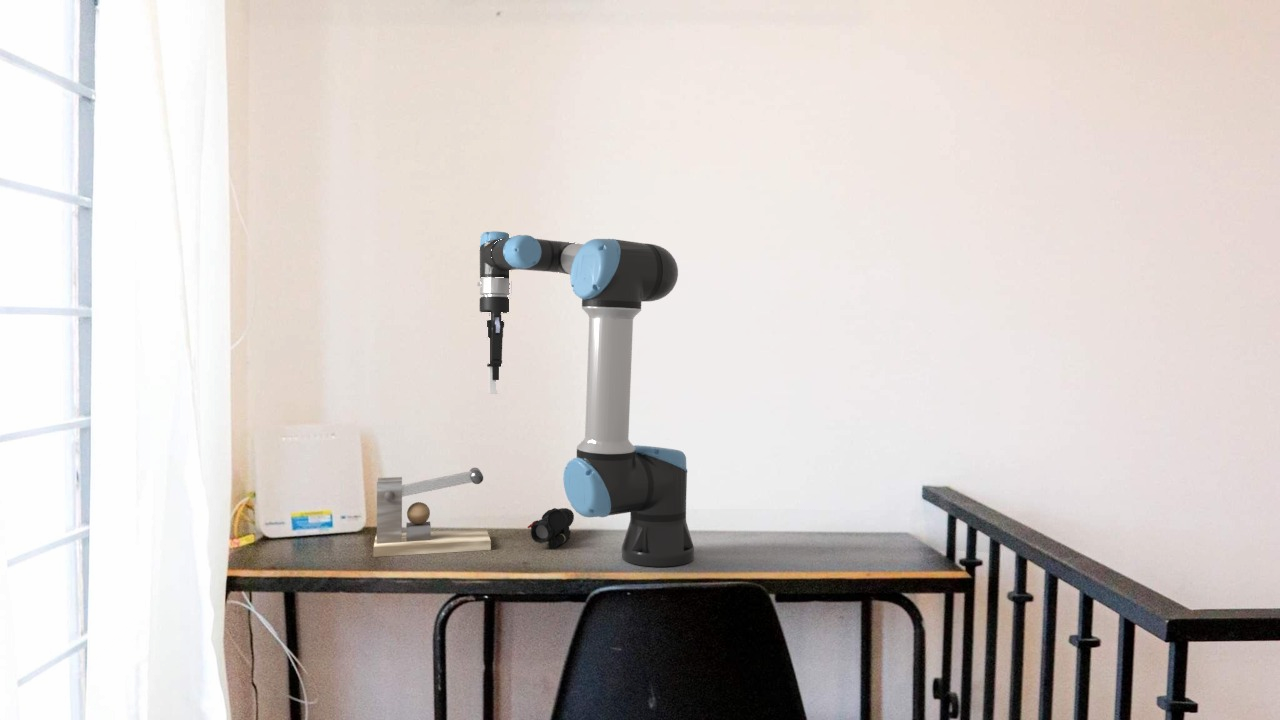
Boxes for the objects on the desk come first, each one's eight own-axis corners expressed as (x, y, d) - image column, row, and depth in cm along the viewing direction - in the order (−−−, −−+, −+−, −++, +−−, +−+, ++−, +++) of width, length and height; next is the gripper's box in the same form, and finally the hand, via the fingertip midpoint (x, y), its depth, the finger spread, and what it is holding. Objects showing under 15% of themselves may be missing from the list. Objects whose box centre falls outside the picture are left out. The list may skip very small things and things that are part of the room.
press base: (490, 549, 173) (491, 480, 172) (373, 556, 166) (373, 484, 166) (485, 537, 184) (486, 472, 184) (375, 543, 178) (376, 475, 177)
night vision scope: (564, 542, 190) (595, 518, 187) (536, 563, 172) (569, 536, 170) (544, 516, 191) (575, 491, 188) (514, 534, 173) (547, 506, 171)
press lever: (484, 482, 174) (482, 471, 174) (385, 503, 169) (383, 491, 169) (481, 477, 181) (479, 466, 181) (386, 497, 176) (384, 485, 176)
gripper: (477, 297, 200) (476, 392, 200) (482, 294, 187) (481, 395, 188) (507, 298, 202) (507, 392, 202) (514, 295, 190) (513, 395, 190)
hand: (494, 393), depth 195 cm, fingers closed
